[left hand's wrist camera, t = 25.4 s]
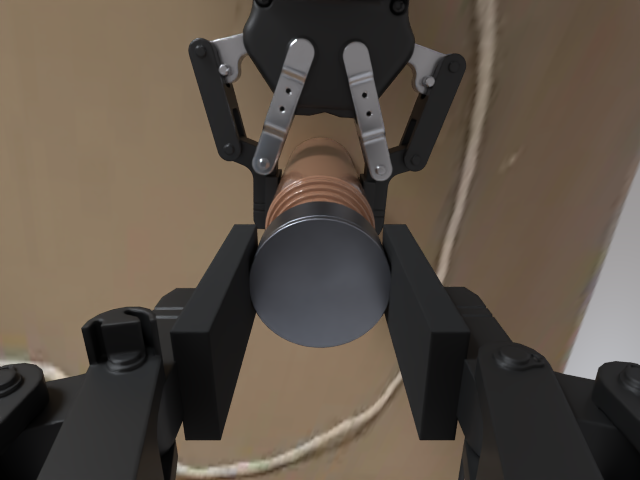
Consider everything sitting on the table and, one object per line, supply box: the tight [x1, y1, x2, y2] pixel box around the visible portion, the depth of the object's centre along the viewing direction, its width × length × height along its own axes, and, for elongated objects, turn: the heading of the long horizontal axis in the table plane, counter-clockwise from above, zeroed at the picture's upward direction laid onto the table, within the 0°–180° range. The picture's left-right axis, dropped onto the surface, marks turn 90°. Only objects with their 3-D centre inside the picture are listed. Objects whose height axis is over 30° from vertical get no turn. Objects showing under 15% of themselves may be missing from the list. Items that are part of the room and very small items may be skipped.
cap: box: [249, 201, 391, 348], centre depth 14 cm, size 4×4×2 cm
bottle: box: [265, 137, 375, 230], centre depth 22 cm, size 5×5×17 cm
